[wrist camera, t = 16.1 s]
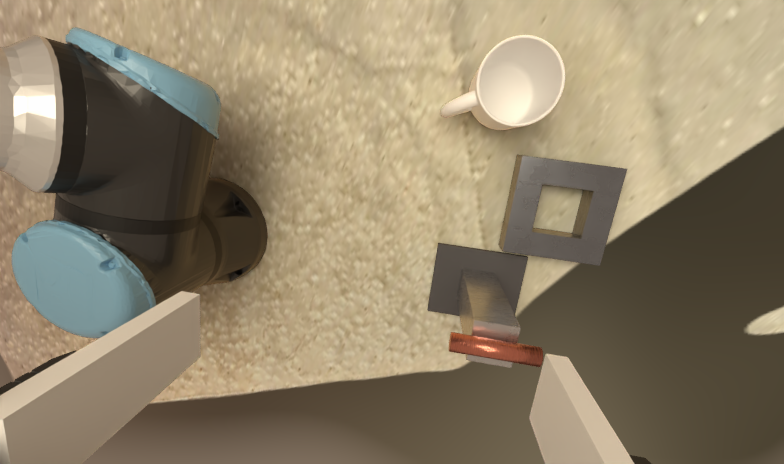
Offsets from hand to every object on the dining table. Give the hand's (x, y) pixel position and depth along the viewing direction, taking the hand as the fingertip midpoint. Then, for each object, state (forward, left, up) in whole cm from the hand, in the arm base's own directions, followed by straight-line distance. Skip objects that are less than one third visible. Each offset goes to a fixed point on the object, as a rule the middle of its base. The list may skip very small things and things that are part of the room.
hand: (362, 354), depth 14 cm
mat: (+10, -10, -37) cm, 39 cm away
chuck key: (+10, -10, -36) cm, 39 cm away
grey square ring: (+18, +2, -37) cm, 41 cm away
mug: (+7, +14, -37) cm, 40 cm away
